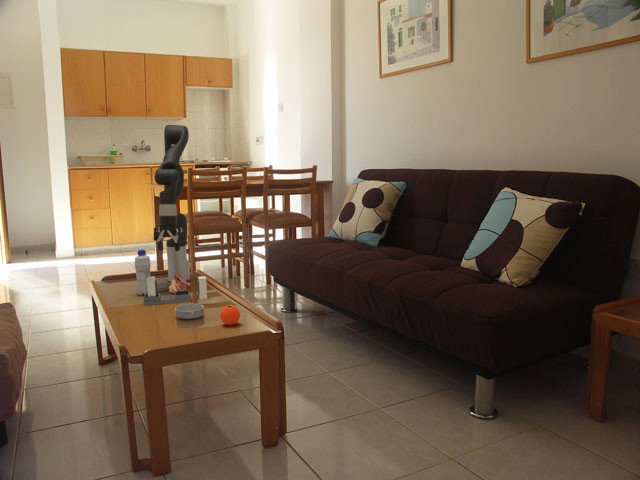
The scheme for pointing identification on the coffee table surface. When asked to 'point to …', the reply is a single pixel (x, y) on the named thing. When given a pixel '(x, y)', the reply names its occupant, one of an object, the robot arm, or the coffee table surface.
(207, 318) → the coffee table surface
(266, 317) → the coffee table surface
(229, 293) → the coffee table surface
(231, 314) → the clementine
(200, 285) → the block
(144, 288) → the bottle
